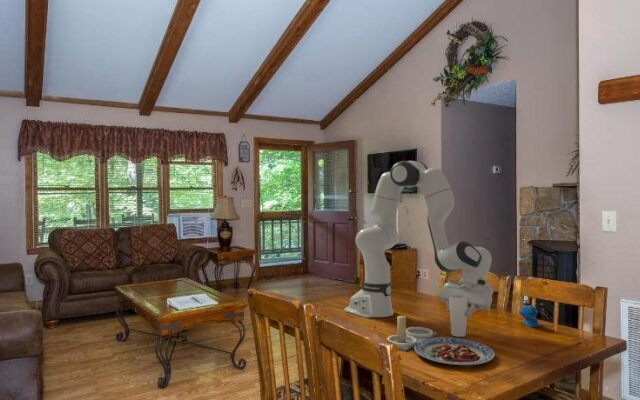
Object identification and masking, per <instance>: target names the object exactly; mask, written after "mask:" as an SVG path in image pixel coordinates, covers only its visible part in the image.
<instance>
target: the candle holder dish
mask: <svg viewBox="0 0 640 400" xmlns="http://www.w3.org/2000/svg"><path fill="white" fill-rule="evenodd" d="M396 319H397V320H396V322H397V323H396V324H397V325H396V328H397V329H396V331H397V332H396V333H397V334H395V335H389V336H387V339H386V341H387V340H388V341H390V342H392V343H394V344H396V345H397V346H398V347H399V349H400V350H399V349H398V350H399V351H403V352H407V351H409V350H411V349H413V348H414V346H415V344H416V343H418V342H420V341H422V340H425V339H430V338H435V337H436V336H438V335H439V333H438V331H437V332H436V331H433V330H432V329H430V328H427V327H423V326H410V327H407V318H406V316H405V315H398V316H397V318H396Z"/></svg>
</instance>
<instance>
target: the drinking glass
mask: <svg viewBox="0 0 640 400" xmlns="http://www.w3.org/2000/svg"><path fill="white" fill-rule="evenodd" d="M458 296H464V297H465V298H456V297H458ZM468 308H469V307H468V299H467V296H465V295H460V294H453V295H450V296H449V311H450V313H449V318H450V319H449V322H450V335H451V336H453V337H454V338H463V337H466V335H467V318H468V316H466V315H465V312H466V310H469V309H468Z"/></svg>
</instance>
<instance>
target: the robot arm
mask: <svg viewBox="0 0 640 400" xmlns="http://www.w3.org/2000/svg"><path fill="white" fill-rule="evenodd" d="M412 187H413V188H414V187H418V188H419V189H420V190H421V192H422V195H423V198H424V201H425V204H426V206H427V207H426V208H427V218H426V220H427V225H428V229H429V234H430V238H431V242H432V246H433V252H434V254H433V255H434V262H435V264H436V266H437V267H438V269H440V270H441V271H442V272H445V273H450V272H454V271H455V270H458V269H461V270H462V273H461V275H460V277H459V279H458V281H452V280H449V281H446V282H445V283H444V284H443V286H442V288H441V290H440V291H439V293H438V299H439V300H440V301H441V302H442V303H446V308H445V311H446V313H449V314H450V311H449V296H450V295H453V294H460V295H465V296H467V299H468V308H469V309H468V310H466V312H465V315H466V316H467V318H468V317H469V318H470V317H471V315H472V314H473V313H475V312H476V311H477V309H480V310H482V311H487V310H489V309H490V308H491V305H492V302H493V294H494V289H493V288H492V286H491V284H490V283H489V281H487V280H485V278H486V276H487V275H488V273H489V271H490V268H491V265H492V259H493V258H492V254H491V252H490V251H489V250H488V249H486V248H485V247H482V246H479V247H478V246H475V245H473V244H471V243H470V242H468V241H465V240H464V241H459V242H456V243H454V244H452V245H449V242H448V238H447V234H446V231H445V222H446V220H447V218H448V216H449V215H450V214H451V212H452V211H453V209H454V207H455V196H454V194H453V192H452V188H451V186H450V184H449V182H448V179H447V178H446V176H445V174H444V173H443V171H442V170H441V169H440V168H437V167H430V168H428V165H426V164H425V163H423V162H421V161H416V160H401V161H397V162H396V163H394V164H393V166H392V167H391V169H390V171H386V172H383V173H382V174H381V175H380V178H379V179H378V182H377V185H376V188H375V191H374V195H373V196H374V197H373V201H372V205H371V210H370V211H371V215H373V226H371V227H366V228H363V229H362V230H359V232H357V234H356V237H355V245H356V247H357V248H358V250H360V252H361V255H362V258H363V263H364V281H363V282H360V283H359V284H360V285H359V286H362V287H361V289H360V290H358V292H356V293H355V294H353V295H352V296H351V297H350V300H349V305H348V306H346V307H345V308H344V309H343V310H344V312H346V313H350V314H353V315H356V316H359V317H362V318H367V319H369V318H388V317H391V316H393V315H394V314H395V313H394V310H393V309H394V308H393V306H392V305H393V304H392V299H391V298H392V297H391V295H392V294H391V293H392V283H391V265H390V263H389V262H388V260H387V257H386V254H385V250H389V249H392V248H394V246H396V245H397V243H398V241H399V234H398V231H397V228H396V226H397V224H396V223H397V221H396V220H397V211H398V207H399V203H400V199H401V194H402V192H403V190H404V188H412ZM456 298H465V297H464V296H458V297H456Z"/></svg>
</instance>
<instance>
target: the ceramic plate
mask: <svg viewBox="0 0 640 400" xmlns="http://www.w3.org/2000/svg"><path fill="white" fill-rule="evenodd" d="M413 348H414V351H415V352H416V354H417V355H419V356H421V357H422V358H425V359H427V360H429V361H433V362H437V363H442V364H446V365H454V366H474V365H481V364H485V363H488V362H490V361H492V360H493V359H494V358H495V352H494V350H493V349H492V348H490V347H489V346H487V345H485V344H484V343H480V342H478V341H474V340H471V339H464V338H460V337H432V338H430V339H425V340H422V341H420V342H418V343H416V344H415V346H414V347H413Z"/></svg>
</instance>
